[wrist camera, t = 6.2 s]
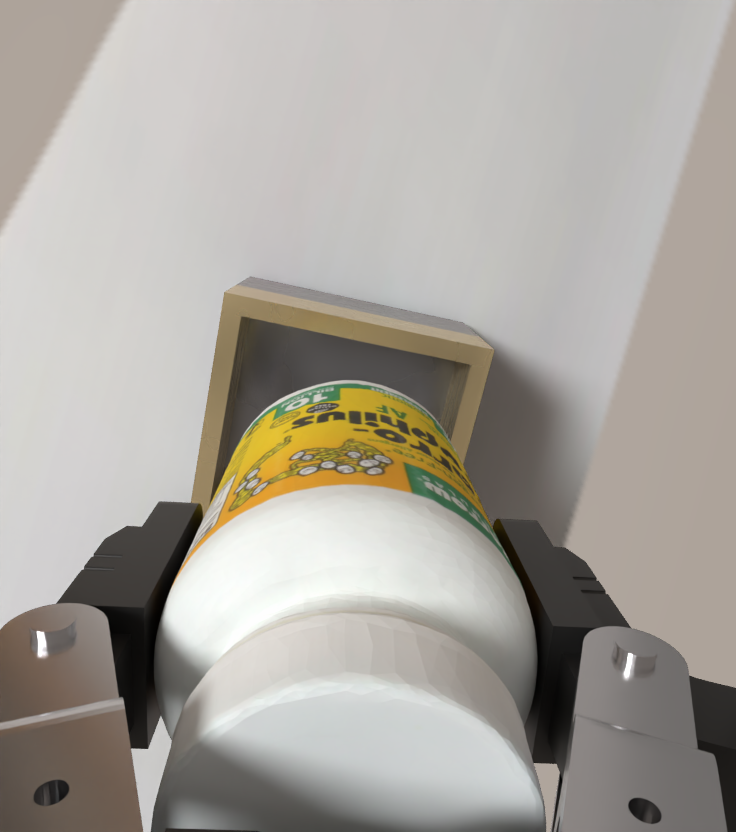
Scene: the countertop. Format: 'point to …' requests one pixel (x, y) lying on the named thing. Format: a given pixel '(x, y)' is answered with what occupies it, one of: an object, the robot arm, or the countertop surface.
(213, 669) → the supplement bottle
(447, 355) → the tan and grey box
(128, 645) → the robot arm
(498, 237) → the countertop surface
